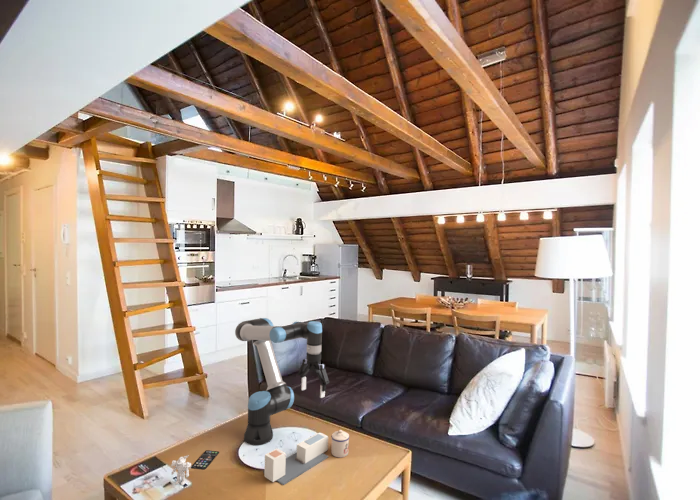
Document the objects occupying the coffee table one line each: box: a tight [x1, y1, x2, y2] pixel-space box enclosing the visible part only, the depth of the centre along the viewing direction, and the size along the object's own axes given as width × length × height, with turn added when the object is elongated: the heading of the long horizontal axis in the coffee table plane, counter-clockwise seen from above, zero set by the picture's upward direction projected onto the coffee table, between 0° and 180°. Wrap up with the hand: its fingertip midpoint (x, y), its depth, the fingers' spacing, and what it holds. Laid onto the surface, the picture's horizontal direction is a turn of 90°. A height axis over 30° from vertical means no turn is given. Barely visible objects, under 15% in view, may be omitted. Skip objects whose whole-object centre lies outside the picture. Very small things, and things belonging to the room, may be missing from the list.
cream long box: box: [295, 432, 329, 464], centre depth 190 cm, size 6×17×7 cm, turn 141°
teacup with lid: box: [331, 429, 350, 458], centre depth 195 cm, size 12×9×12 cm
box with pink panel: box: [263, 447, 287, 483], centre depth 172 cm, size 6×7×10 cm
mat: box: [262, 451, 329, 486], centre depth 182 cm, size 14×29×1 cm, turn 141°
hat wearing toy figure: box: [170, 454, 192, 486], centre depth 166 cm, size 9×4×12 cm, turn 81°
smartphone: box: [190, 449, 220, 471], centre depth 184 cm, size 7×1×15 cm
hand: (312, 393), depth 196 cm, fingers open, 13 cm apart
